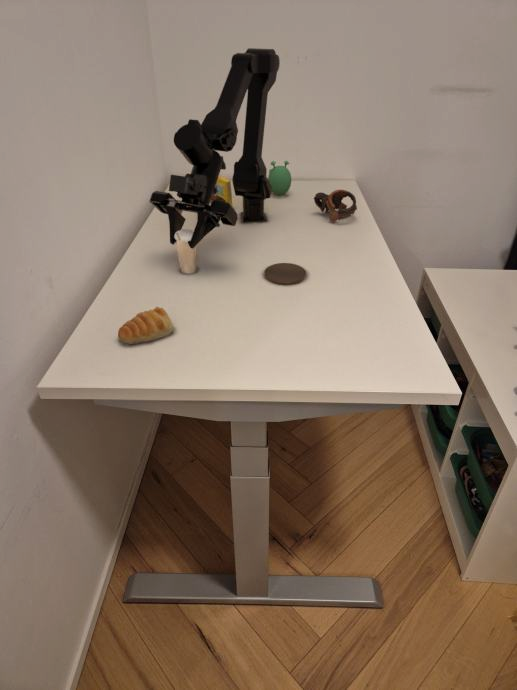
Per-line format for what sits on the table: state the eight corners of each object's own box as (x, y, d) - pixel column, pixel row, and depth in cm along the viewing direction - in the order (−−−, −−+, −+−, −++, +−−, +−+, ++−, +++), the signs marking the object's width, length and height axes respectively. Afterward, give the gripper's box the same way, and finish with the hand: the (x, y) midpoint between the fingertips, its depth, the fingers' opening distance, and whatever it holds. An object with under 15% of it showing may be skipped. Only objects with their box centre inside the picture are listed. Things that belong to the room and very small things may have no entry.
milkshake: (172, 274, 101) (167, 231, 96) (184, 264, 105) (180, 221, 99) (191, 278, 100) (186, 234, 94) (202, 267, 104) (199, 224, 98)
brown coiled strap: (355, 212, 132) (363, 192, 124) (345, 238, 128) (353, 218, 120) (315, 197, 133) (321, 177, 125) (304, 222, 129) (309, 202, 121)
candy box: (197, 195, 143) (194, 167, 138) (202, 193, 144) (200, 166, 139) (226, 210, 132) (225, 181, 127) (233, 208, 133) (232, 179, 128)
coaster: (261, 266, 104) (261, 264, 104) (301, 264, 105) (301, 261, 105) (267, 286, 97) (267, 283, 97) (309, 283, 98) (310, 280, 98)
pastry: (129, 352, 79) (125, 334, 77) (112, 335, 83) (108, 317, 81) (177, 332, 84) (174, 314, 82) (158, 317, 88) (156, 299, 86)
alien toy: (285, 189, 147) (287, 156, 141) (293, 197, 141) (295, 163, 135) (264, 191, 145) (264, 157, 139) (271, 199, 139) (272, 164, 133)
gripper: (147, 151, 95) (123, 222, 93) (229, 161, 89) (204, 238, 87) (173, 179, 105) (151, 243, 104) (247, 190, 99) (225, 259, 98)
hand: (181, 245), depth 98 cm, fingers closed on milkshake, 4 cm apart
